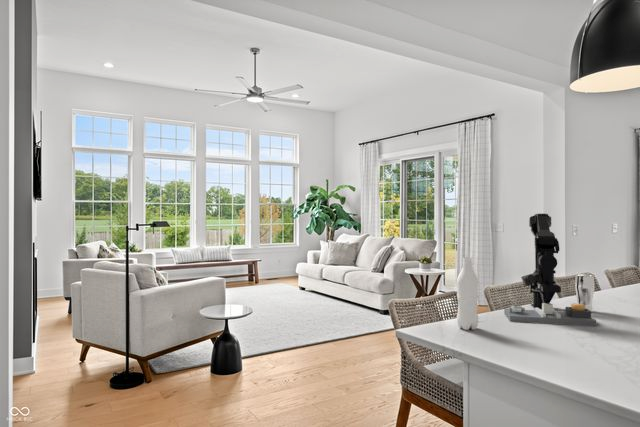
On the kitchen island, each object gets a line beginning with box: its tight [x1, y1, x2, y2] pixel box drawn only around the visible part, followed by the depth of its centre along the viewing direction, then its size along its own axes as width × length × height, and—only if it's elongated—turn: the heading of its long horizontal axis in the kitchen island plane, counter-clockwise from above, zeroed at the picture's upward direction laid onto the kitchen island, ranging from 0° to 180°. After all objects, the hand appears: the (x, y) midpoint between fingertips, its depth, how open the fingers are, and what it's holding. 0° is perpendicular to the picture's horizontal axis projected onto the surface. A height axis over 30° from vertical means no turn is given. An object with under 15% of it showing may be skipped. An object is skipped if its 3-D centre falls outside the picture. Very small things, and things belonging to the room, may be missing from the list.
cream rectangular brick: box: [541, 303, 554, 314], centre depth 167 cm, size 2×3×4 cm
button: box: [570, 302, 585, 311], centre depth 164 cm, size 4×4×2 cm
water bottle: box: [456, 257, 479, 331], centre depth 154 cm, size 7×7×25 cm
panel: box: [503, 306, 597, 327], centre depth 167 cm, size 13×29×4 cm, turn 76°
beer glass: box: [574, 273, 596, 313], centre depth 182 cm, size 7×7×15 cm
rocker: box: [510, 305, 523, 309], centre depth 170 cm, size 5×3×1 cm, turn 166°
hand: (545, 307), depth 169 cm, fingers closed
